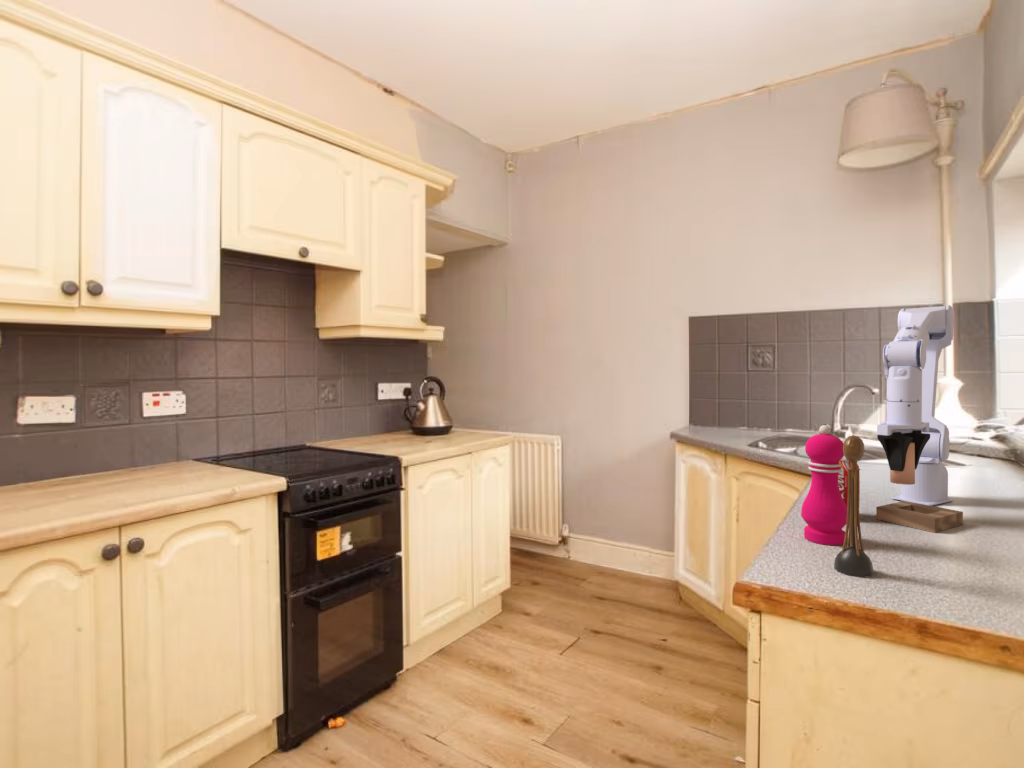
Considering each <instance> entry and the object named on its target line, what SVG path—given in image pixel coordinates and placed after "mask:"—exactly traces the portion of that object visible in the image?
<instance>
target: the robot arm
mask: <svg viewBox="0 0 1024 768" xmlns="http://www.w3.org/2000/svg"><path fill="white" fill-rule="evenodd" d="M954 327H955V310H954V307H953V306H952V305H950V304H947V305H942V306H941V305H940V306H929V307H928V306H927V307H925V306H924V307H915V308H913V307H912V308H906V307H905V308H901V309H900V310H899V312H898V314H897V331H898V332H897V333H896V335H895V336H894V339H893V340H892V341H889V343H888V344H886V343H885V344H884V346H883V350H882V361H883V362H882V363H883V367H884V378H885V379H886V412H885V413H886V419H885V420H886V421H880V423H879V424H877V425H876V435H877V436H876V438H877V439H878V441H879V443H880V445H881V446H882V448H883V450H884V453H885V455H886V459H887V463H888V466H889V471H890V470H894V471H903V470H904V467H905V461H906V454H907V450H908V447H909V444H910V442H912V443H915V484H912V485H906V484H899V489H900V490H899V494H898V495H892V496H891V499H892V500H897V501H900V502H902V501H908V502H913V503H919V504H924V505H929V506H936V505H941V504H945V503H949V502H953V501H954V500H953V498H949V473H948V469H947V467H946V466H945V465H944V464H943V462H946V461H947V460H948V459H949V457H950V446H951V445H950V442H951V441H950V431H949V430H950V429H949V428H948V427H947V425H946V424H945V423H943V422H941V421H940V419H938V418H935V413H936V412H935V411H936V399H937V389H938V387H937V385H938V371H939V362H940V361H939V359H940V357H941V354H942V351H943V349H945V348H947V347H949V346H951V345H952V341H953V340H954Z"/></svg>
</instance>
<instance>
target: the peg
mask: <svg viewBox="0 0 1024 768" xmlns="http://www.w3.org/2000/svg"><path fill="white" fill-rule="evenodd" d="M889 471H890V472H889V473H890V474H889V479H890V480H889V481H890V483H891V484H892V483H893V484H896V485H900V484H906V485H912V484H915V443H912V442H910V444H909V447H908V450H907V454H906V461H905V467H904V470H903V471H894V470H890V469H889Z"/></svg>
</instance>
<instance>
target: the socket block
mask: <svg viewBox="0 0 1024 768" xmlns="http://www.w3.org/2000/svg"><path fill="white" fill-rule="evenodd" d="M875 512H876V513H875V515H876V518H875V519H878V521H881V520H883V521H882V522H885V521H887V522H886V523H890V522H892V523H891V524H894V523H896V525H899V524H900V525H899V526H903V525H904V526H905V527H907V526H909V527H908V528H912V527H913V528H912V529H916V528H918V529H917V530H921V529H922V530H921V531H925V530H926V532H930V531H931V532H930V533H934V532H935V533H939V532H942V531H946V530H949V529H954V528H956V527H960V525H961V526H963V525H964V511H961V510H955V509H950V508H946V507H945V508H944V507H939V506H936V505H933V506H929V505H924V504H919V503H913V502H908V501H898V502H893V503H892V502H891V503H888V504H884V505H879V506H876V511H875ZM938 531H939V532H938Z"/></svg>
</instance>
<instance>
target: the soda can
mask: <svg viewBox="0 0 1024 768" xmlns="http://www.w3.org/2000/svg"><path fill="white" fill-rule="evenodd" d="M839 463H841V464H842V466H840V467H841V470H842V471H841V472H839V476H838V485H839V490H840V493H841V496H842V498H843V500H844V502H845V504H846V506H847V505H848V469H847V468H851V461H849V460H847V459H846V458H845V456H843V458H842V459H841V460H840V461H839ZM857 468H858V469H860V466H859V464H858V463H857ZM860 475H861V474H860V473H859V500H861V499H860V497H861V496H860V494H861V493H860V489H861V488H860V487H861V486H860V483H861V481H860Z"/></svg>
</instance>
